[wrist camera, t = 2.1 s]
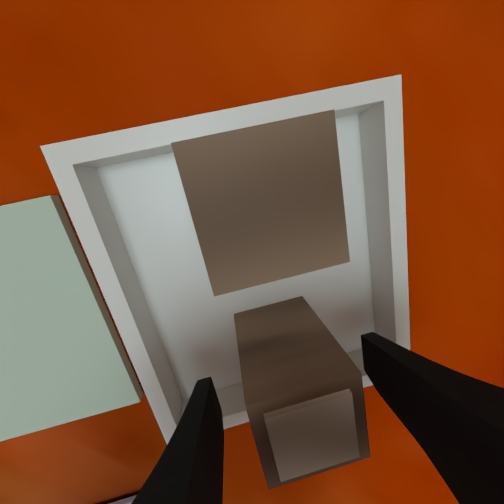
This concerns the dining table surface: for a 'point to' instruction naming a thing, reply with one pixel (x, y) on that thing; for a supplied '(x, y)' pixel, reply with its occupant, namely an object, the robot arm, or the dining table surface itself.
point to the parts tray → (191, 259)
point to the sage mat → (53, 326)
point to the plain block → (266, 200)
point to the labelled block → (299, 392)
